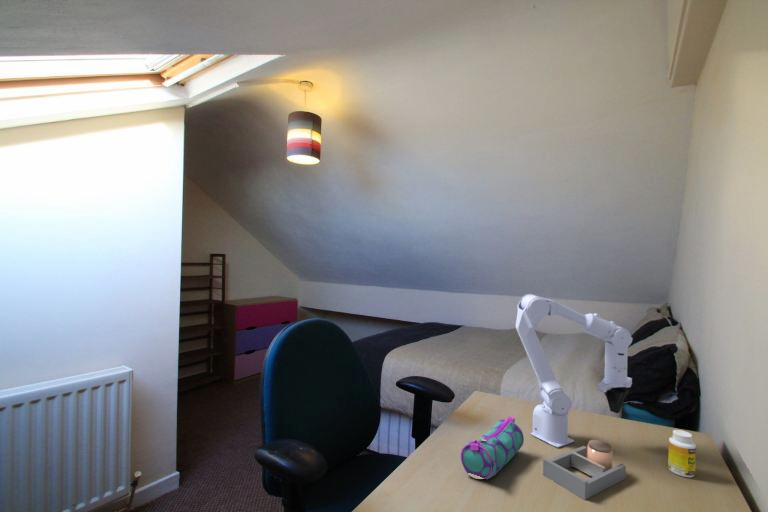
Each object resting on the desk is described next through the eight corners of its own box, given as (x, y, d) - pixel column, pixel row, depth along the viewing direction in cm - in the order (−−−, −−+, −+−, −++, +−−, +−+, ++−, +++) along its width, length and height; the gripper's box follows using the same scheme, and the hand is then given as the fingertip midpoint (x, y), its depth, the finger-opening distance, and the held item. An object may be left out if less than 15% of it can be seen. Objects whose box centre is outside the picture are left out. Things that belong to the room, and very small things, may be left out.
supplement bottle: (690, 481, 95) (691, 440, 95) (664, 470, 99) (665, 431, 99) (698, 474, 98) (699, 434, 98) (673, 464, 102) (674, 426, 102)
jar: (582, 468, 100) (582, 442, 100) (596, 463, 102) (596, 437, 102) (603, 479, 95) (603, 451, 95) (616, 474, 97) (617, 447, 97)
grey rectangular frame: (543, 474, 96) (543, 459, 96) (583, 457, 105) (583, 443, 105) (584, 499, 87) (585, 482, 87) (625, 478, 95) (625, 462, 95)
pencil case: (492, 489, 90) (493, 449, 90) (459, 475, 96) (460, 437, 96) (524, 455, 106) (525, 420, 106) (494, 444, 112) (495, 411, 111)
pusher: (570, 465, 100) (571, 452, 100) (573, 464, 100) (573, 451, 100) (602, 482, 92) (603, 468, 92) (605, 481, 93) (605, 467, 93)
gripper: (616, 373, 106) (615, 422, 106) (643, 366, 113) (642, 411, 113) (591, 366, 112) (590, 412, 112) (618, 360, 119) (617, 403, 119)
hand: (614, 411), depth 113 cm, fingers closed
